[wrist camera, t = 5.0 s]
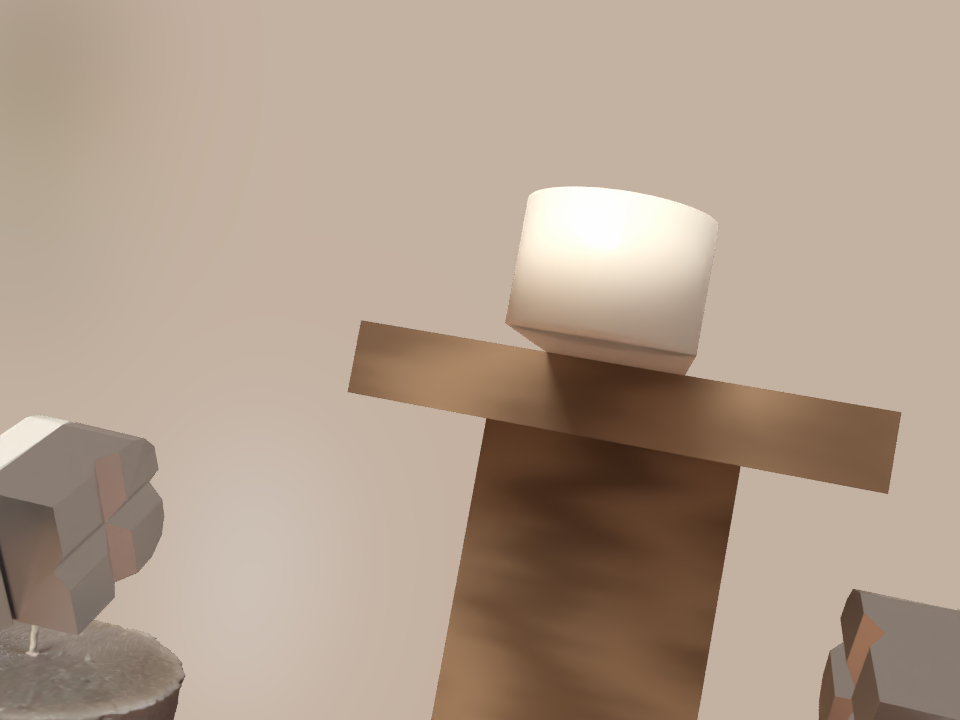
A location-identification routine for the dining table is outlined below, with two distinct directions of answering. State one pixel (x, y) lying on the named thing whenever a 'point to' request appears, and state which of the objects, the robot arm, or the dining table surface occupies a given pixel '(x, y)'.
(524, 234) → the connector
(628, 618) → the stand
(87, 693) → the pillar candle
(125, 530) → the robot arm
